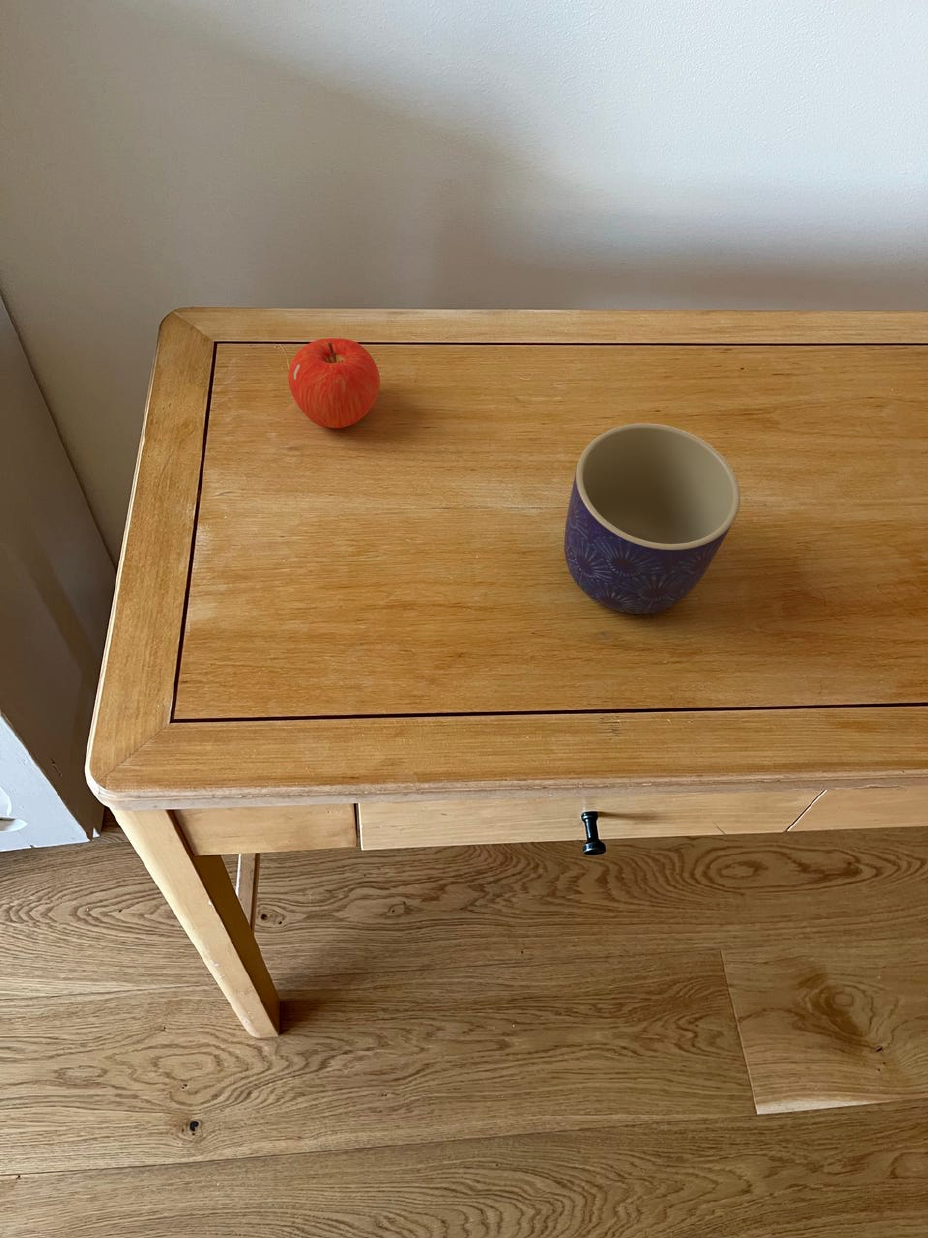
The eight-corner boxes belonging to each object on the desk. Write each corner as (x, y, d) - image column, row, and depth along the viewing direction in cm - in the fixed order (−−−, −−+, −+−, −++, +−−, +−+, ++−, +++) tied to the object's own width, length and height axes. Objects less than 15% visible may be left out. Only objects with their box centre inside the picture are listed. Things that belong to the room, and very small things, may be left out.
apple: (306, 452, 83) (299, 385, 76) (283, 391, 87) (274, 321, 80) (391, 433, 85) (392, 365, 78) (364, 373, 89) (362, 305, 82)
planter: (529, 589, 76) (549, 504, 67) (589, 490, 83) (614, 400, 74) (668, 654, 74) (708, 575, 65) (719, 548, 80) (762, 461, 71)
